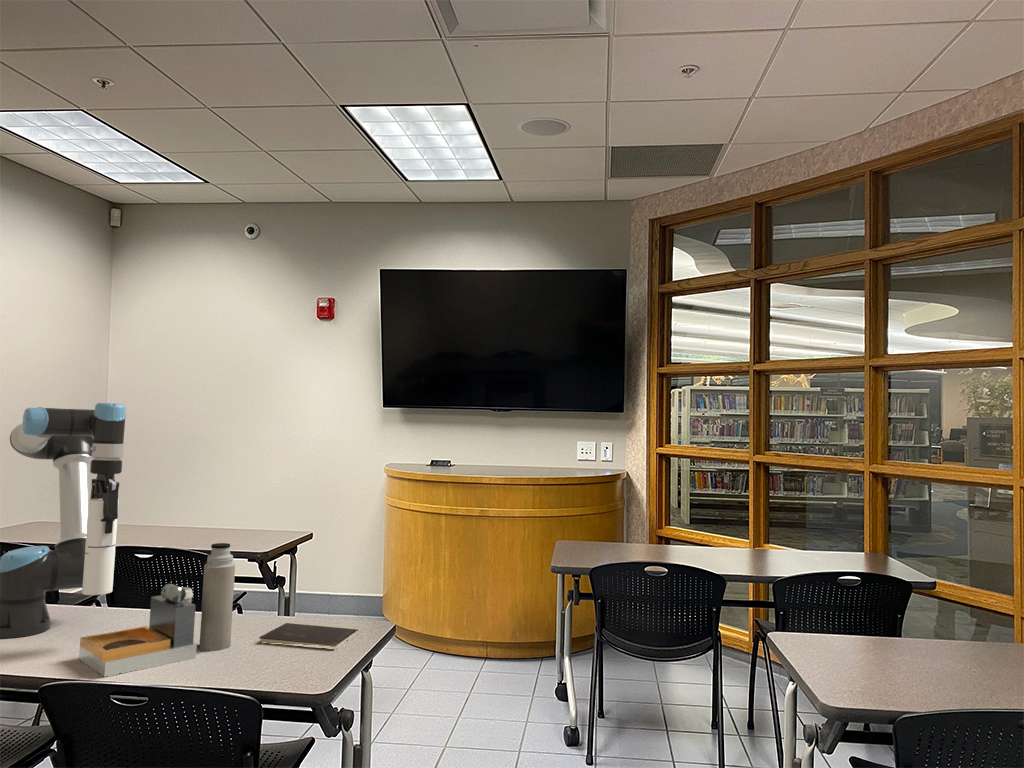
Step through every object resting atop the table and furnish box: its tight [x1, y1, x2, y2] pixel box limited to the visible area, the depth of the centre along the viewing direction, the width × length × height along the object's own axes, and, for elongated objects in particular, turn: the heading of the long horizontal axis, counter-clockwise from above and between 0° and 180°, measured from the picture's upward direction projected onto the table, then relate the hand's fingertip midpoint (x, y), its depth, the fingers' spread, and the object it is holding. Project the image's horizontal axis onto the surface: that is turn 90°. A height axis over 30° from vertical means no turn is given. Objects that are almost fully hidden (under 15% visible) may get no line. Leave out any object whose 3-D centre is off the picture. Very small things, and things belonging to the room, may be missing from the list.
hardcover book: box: [258, 622, 359, 647], centre depth 205 cm, size 16×23×2 cm
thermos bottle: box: [199, 542, 236, 651], centre depth 197 cm, size 8×8×28 cm
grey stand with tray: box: [78, 583, 198, 678], centre depth 184 cm, size 18×22×18 cm
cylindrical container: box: [81, 498, 120, 596], centre depth 193 cm, size 7×7×25 cm
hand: (100, 543), depth 193 cm, fingers closed on cylindrical container, 7 cm apart
